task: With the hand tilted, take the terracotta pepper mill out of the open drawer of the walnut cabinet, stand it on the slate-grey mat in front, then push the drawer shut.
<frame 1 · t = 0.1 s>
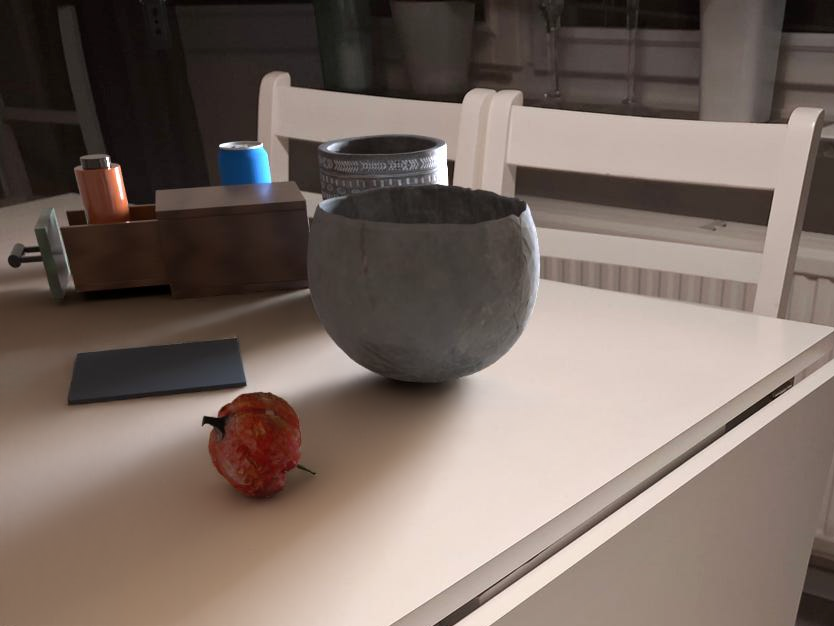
hand: (161, 45, 103), 24 cm above the table, tool pointing down, fingers open, 8 cm apart
beverage can: (255, 245, 138), on the table
drawer: (99, 248, 118), point 5 cm above the table, slide at 12.0 cm, touching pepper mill
cabinet: (241, 279, 124), on the table
mat: (158, 370, 97), on the table
bowl: (429, 376, 95), on the table
pomegranate: (268, 489, 76), on the table
planter: (392, 289, 119), on the table
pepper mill: (120, 270, 120), point 2 cm above the table, touching drawer
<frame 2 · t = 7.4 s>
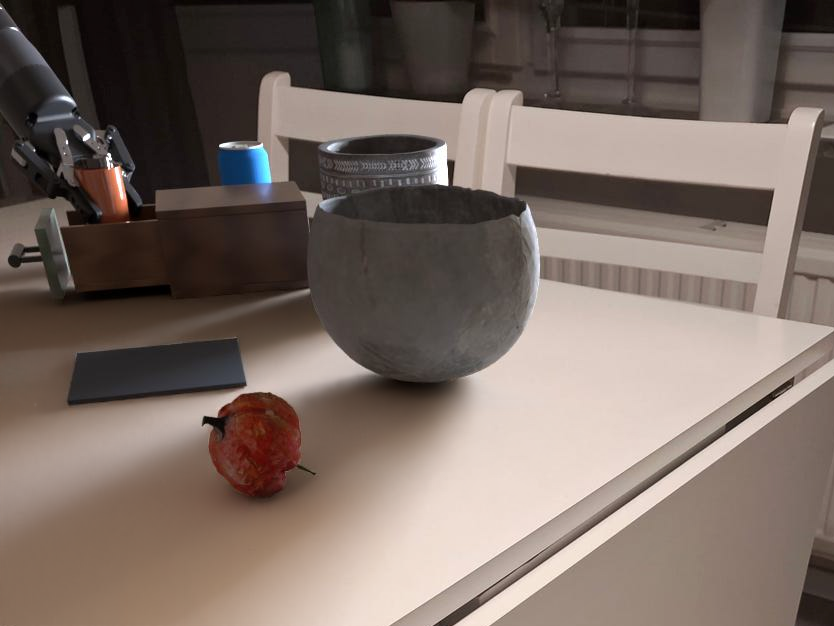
hand: (118, 216, 115), 8 cm above the table, tool tilted 45°, fingers closed on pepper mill, 5 cm apart
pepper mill: (120, 270, 120), point 2 cm above the table, touching drawer, gripper
everything else where it was.
when the fingers open (6 cm above the table, at t = 18.9 s): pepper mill stays where it is, resting on mat.
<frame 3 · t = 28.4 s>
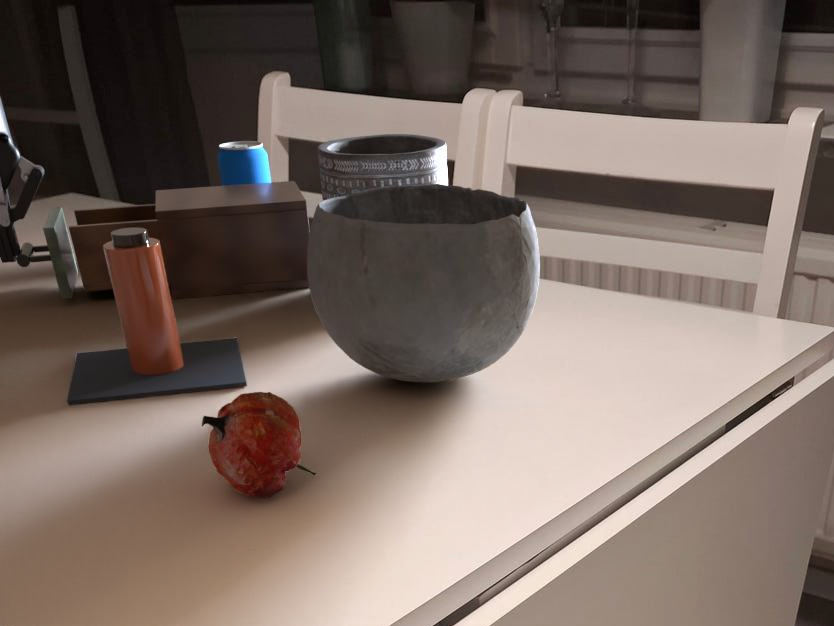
hand: (9, 260, 117), 4 cm above the table, tool pointing down, fingers closed
drawer: (107, 248, 118), point 5 cm above the table, slide at 11.0 cm, touching gripper
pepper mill: (158, 366, 97), resting on mat
everything else where it was.
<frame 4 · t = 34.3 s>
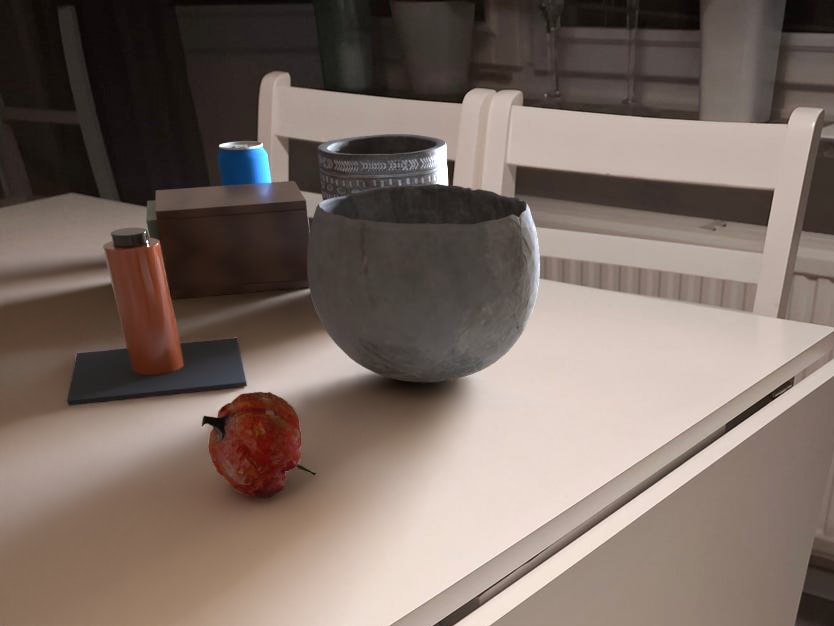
drawer: (202, 240, 120), point 5 cm above the table, slide at 0.0 cm
everything else where it was.
at the end: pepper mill inside the target area on the mat (0.1 cm from its centre), point 0.4 cm above the mat's base; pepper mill tilted 0°; drawer slide at 0.0 cm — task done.
